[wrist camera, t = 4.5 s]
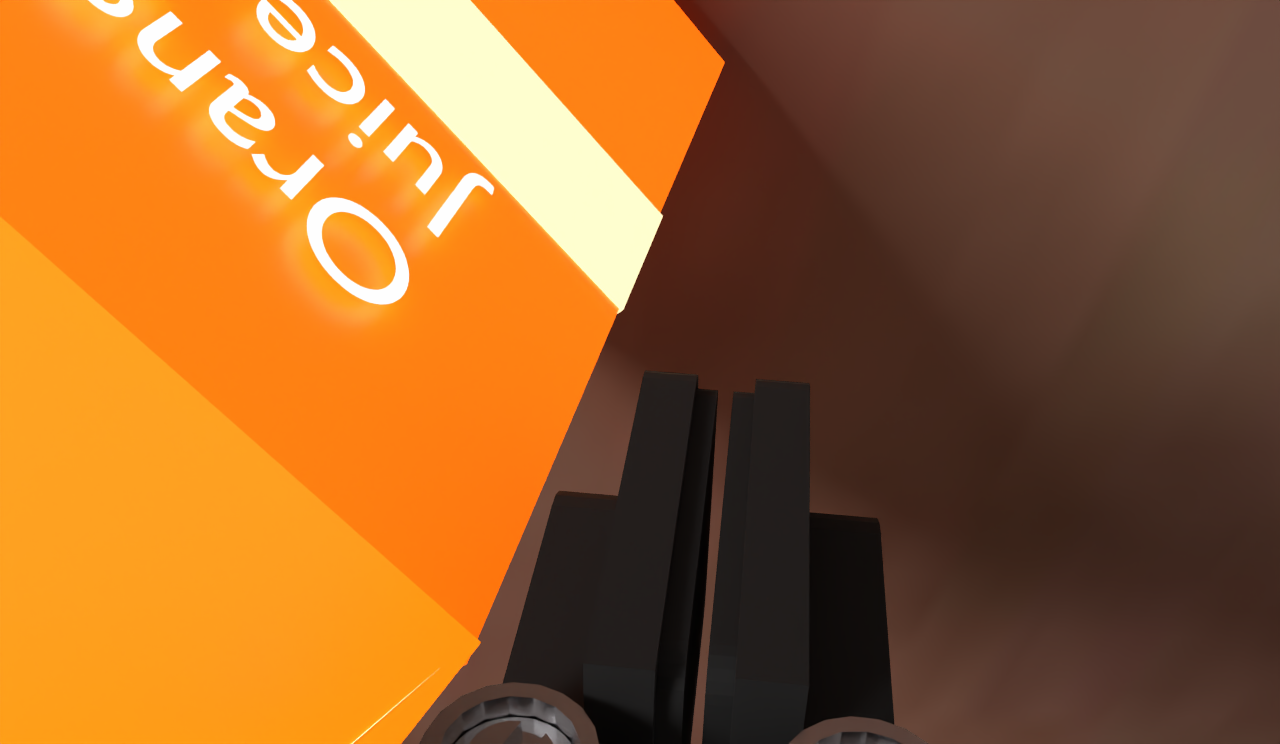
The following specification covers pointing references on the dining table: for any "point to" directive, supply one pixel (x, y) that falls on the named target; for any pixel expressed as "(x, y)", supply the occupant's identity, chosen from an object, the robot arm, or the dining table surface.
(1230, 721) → the dining table surface
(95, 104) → the orange juice
